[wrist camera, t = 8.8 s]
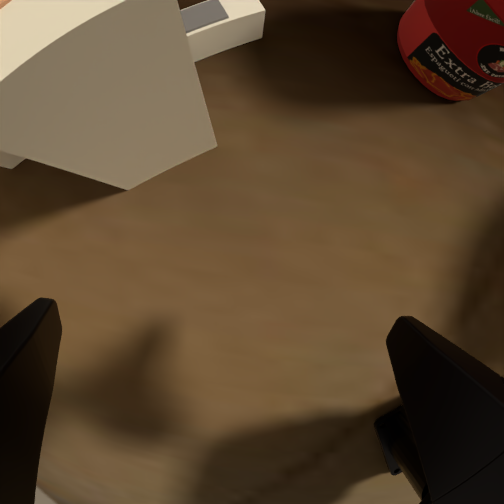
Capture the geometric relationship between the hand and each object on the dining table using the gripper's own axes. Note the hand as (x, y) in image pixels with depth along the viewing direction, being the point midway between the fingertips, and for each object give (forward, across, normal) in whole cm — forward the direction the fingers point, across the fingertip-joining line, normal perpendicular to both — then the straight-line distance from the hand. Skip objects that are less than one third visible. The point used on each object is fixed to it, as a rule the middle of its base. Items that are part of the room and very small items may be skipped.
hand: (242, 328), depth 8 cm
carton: (+13, +3, -2) cm, 13 cm away
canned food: (+14, -14, -11) cm, 23 cm away
